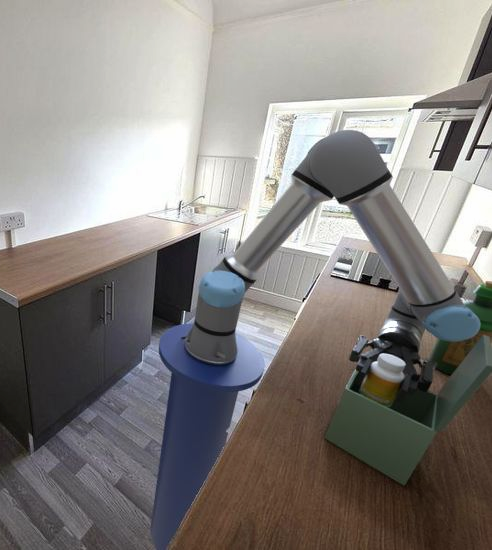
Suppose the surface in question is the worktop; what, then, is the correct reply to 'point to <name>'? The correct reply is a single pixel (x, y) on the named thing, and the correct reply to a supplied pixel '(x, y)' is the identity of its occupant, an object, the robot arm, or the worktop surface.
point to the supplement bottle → (383, 379)
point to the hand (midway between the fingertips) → (380, 386)
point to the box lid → (464, 382)
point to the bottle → (448, 355)
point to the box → (384, 429)
